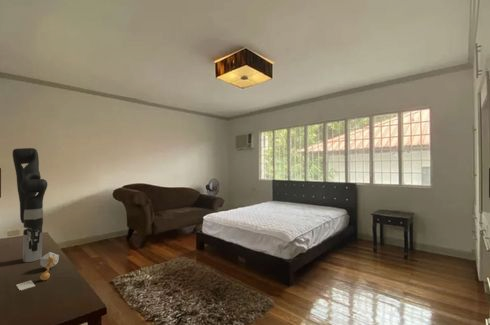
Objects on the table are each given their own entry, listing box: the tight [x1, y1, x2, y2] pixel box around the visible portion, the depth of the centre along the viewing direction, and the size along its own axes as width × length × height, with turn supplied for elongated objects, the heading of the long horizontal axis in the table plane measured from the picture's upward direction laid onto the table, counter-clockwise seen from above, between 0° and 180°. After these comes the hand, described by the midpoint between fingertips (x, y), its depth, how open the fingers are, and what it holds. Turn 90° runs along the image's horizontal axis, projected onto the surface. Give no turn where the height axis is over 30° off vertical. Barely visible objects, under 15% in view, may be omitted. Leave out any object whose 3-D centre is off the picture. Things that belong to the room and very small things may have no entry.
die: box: [39, 251, 60, 270], centre depth 141 cm, size 8×9×10 cm
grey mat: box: [15, 280, 36, 291], centre depth 121 cm, size 9×6×1 cm, turn 52°
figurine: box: [39, 256, 55, 281], centre depth 128 cm, size 8×6×12 cm
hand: (33, 249), depth 123 cm, fingers open, 5 cm apart
